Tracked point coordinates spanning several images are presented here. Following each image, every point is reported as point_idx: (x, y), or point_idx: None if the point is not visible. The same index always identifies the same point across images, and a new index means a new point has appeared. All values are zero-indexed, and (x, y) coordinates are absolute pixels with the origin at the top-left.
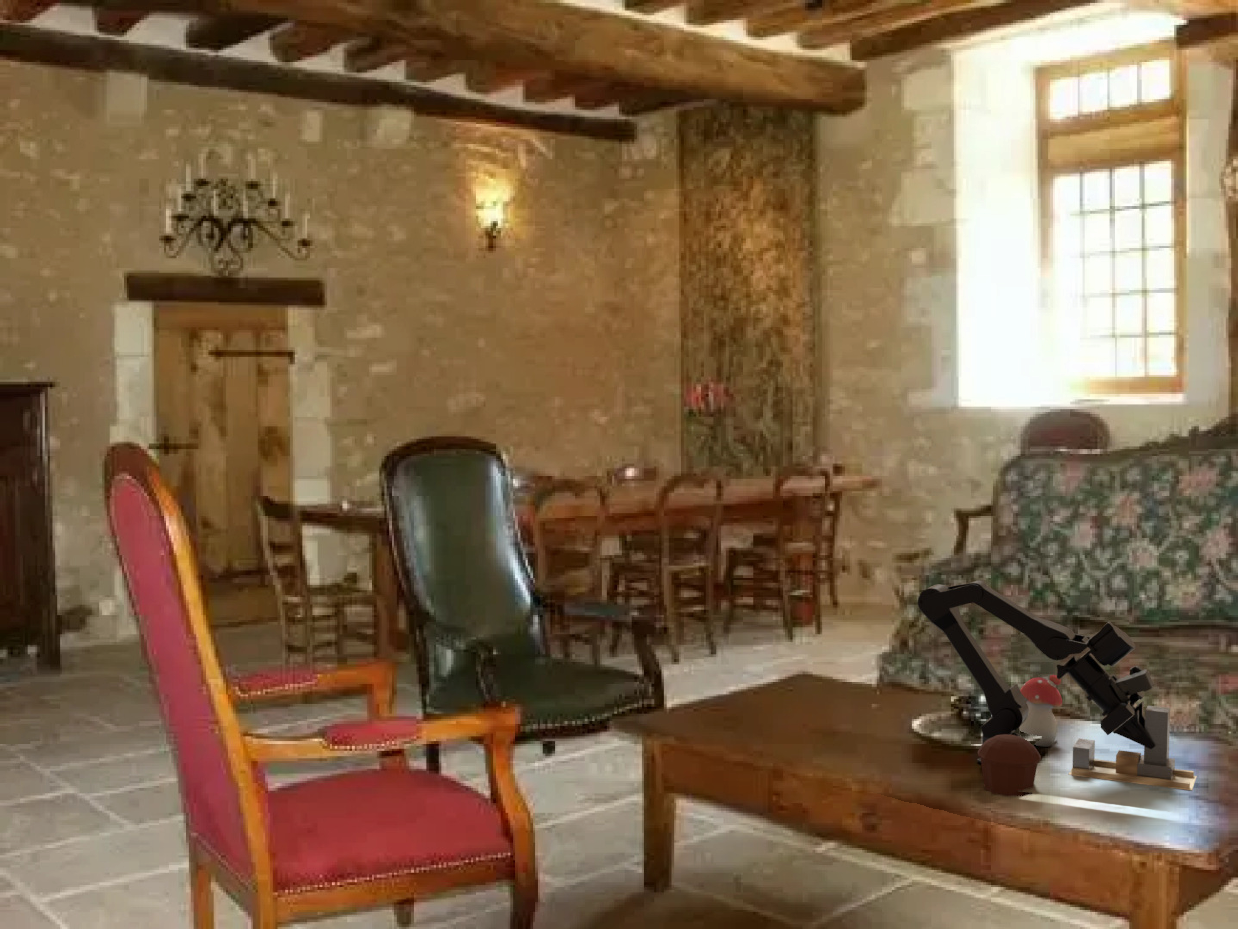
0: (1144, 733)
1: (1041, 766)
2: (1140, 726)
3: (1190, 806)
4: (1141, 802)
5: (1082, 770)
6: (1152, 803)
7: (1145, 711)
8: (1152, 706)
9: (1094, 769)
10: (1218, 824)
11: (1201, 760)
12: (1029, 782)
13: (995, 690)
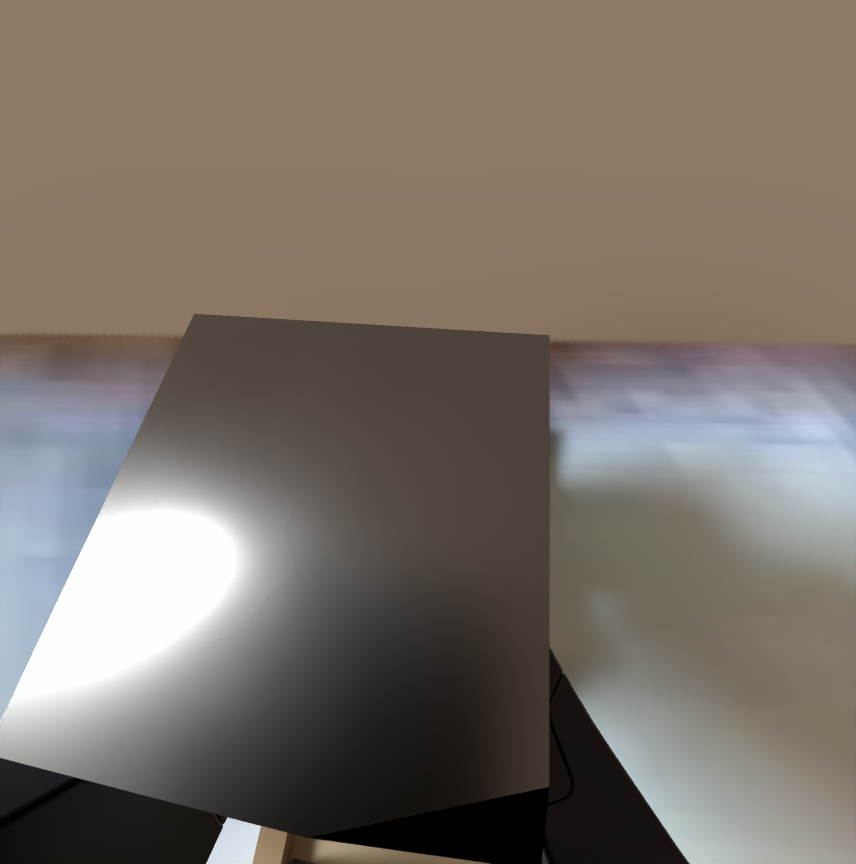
0: (554, 666)
1: None
2: (624, 774)
3: (645, 435)
4: (699, 603)
5: None
6: (686, 560)
7: (535, 853)
8: (75, 624)
9: (367, 860)
10: (792, 366)
11: (118, 397)
12: None
13: None
